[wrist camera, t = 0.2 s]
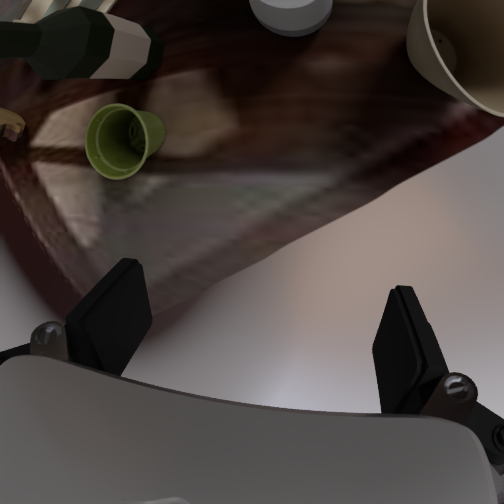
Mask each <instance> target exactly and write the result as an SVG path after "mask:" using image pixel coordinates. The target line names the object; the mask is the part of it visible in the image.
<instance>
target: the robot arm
mask: <svg viewBox="0 0 504 504" xmlns="http://www.w3.org/2000/svg"><path fill="white" fill-rule="evenodd" d="M65 319H66V322H67V323H66V324H65V325H63V324H62V323H60V322H57V321H50V322H46V323H43V324H41V325H40V326H38V327H37V328H36V329H35V330H34V331H33V333H32V334H31V339H30V343H28V344H24V345H21V346H18V347H15V348H12V349H8V350H6V351H2V352H0V504H504V419H503V418H501V417H500V416H498V415H497V414H495V413H494V412H492V411H490V410H489V409H487V408H486V407H485V406H483V405H481V404H480V403H478V402H477V397H478V390H477V387H476V385H475V383H474V382H473V381H472V379H470V378H469V377H468V376H466V375H464V374H462V373H456V372H453V373H449V370H448V368H447V365H446V362H445V359H444V357H443V354H442V352H441V349H440V347H439V344H438V341H437V339H436V336H435V334H434V331H433V329H432V327H431V325H430V323H428V321H427V319H426V317H425V314H424V312H423V310H422V307H421V305H420V303H419V301H418V298H417V296H416V294H415V292H414V290H413V288H412V287H411V286H401V285H397V286H396V287H395V289H391V290H390V293H389V296H388V300H387V303H386V306H385V310H384V313H383V316H382V319H381V322H380V325H379V328H378V331H377V334H376V337H375V340H374V343H373V348H372V353H373V359H374V365H375V371H376V376H377V384H378V390H379V397H380V405H381V413H346V412H326V411H311V410H299V409H287V408H278V407H270V406H262V405H254V404H247V403H241V402H234V401H228V400H222V399H216V398H211V397H205V396H200V395H195V394H190V393H185V392H181V391H176V390H172V389H167V388H163V387H159V386H155V385H151V384H147V383H143V382H139V381H135V380H132V379H128V378H125V377H121V374H122V372H123V371H124V369H125V368H126V366H127V364H128V363H129V361H130V359H131V358H132V356H133V354H134V353H135V351H136V349H137V348H138V346H139V344H140V343H141V341H142V339H143V338H144V336H145V335H146V333H147V331H148V330H149V328H150V327H151V324H152V314H151V309H150V304H149V299H148V294H147V289H146V284H145V278H144V272H143V267H142V264H140V263H139V262H138V260H137V259H130V258H123V259H121V260H120V261H119V262H118V263H117V264H116V265H115V266H114V267H113V268H112V269H111V270H110V271H109V272H108V273H107V274H106V275H105V276H104V277H103V278H102V279H101V280H100V281H99V282H98V283H97V284H96V285H95V287H94V288H93V289H92V290H91V291H90V292H89V293H88V294H87V295H86V296H85V297H84V298H83V299H82V300H81V302H79V304H78V305H77V306H76V307H75V308H74V309H73V310H72V311H71V312H70V313H69V314H68V315H67V316H66V318H65Z"/></svg>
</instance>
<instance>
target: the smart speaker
mask: <svg viewBox="0 0 504 504" xmlns="http://www.w3.org/2000/svg"><path fill="white" fill-rule="evenodd" d="M249 2H250V5H251V8H252V11H253V13H254V15H255V16H256V18H257V19H258V21H259V22H260V23H261V24H262V25H263V26H264V27H266V28H267V29H268V30H270V31H272V32H274V33H276V34H279V35H283V36H289V37H298V36H304V35H308V34H310V33H313V32H315V31H316V30H318V29H319V28H320V27H322V26H323V25H324V24H325V22H326V21H327V19H328V18H329V16H330V13H331V10H332V3H333V0H249Z"/></svg>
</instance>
